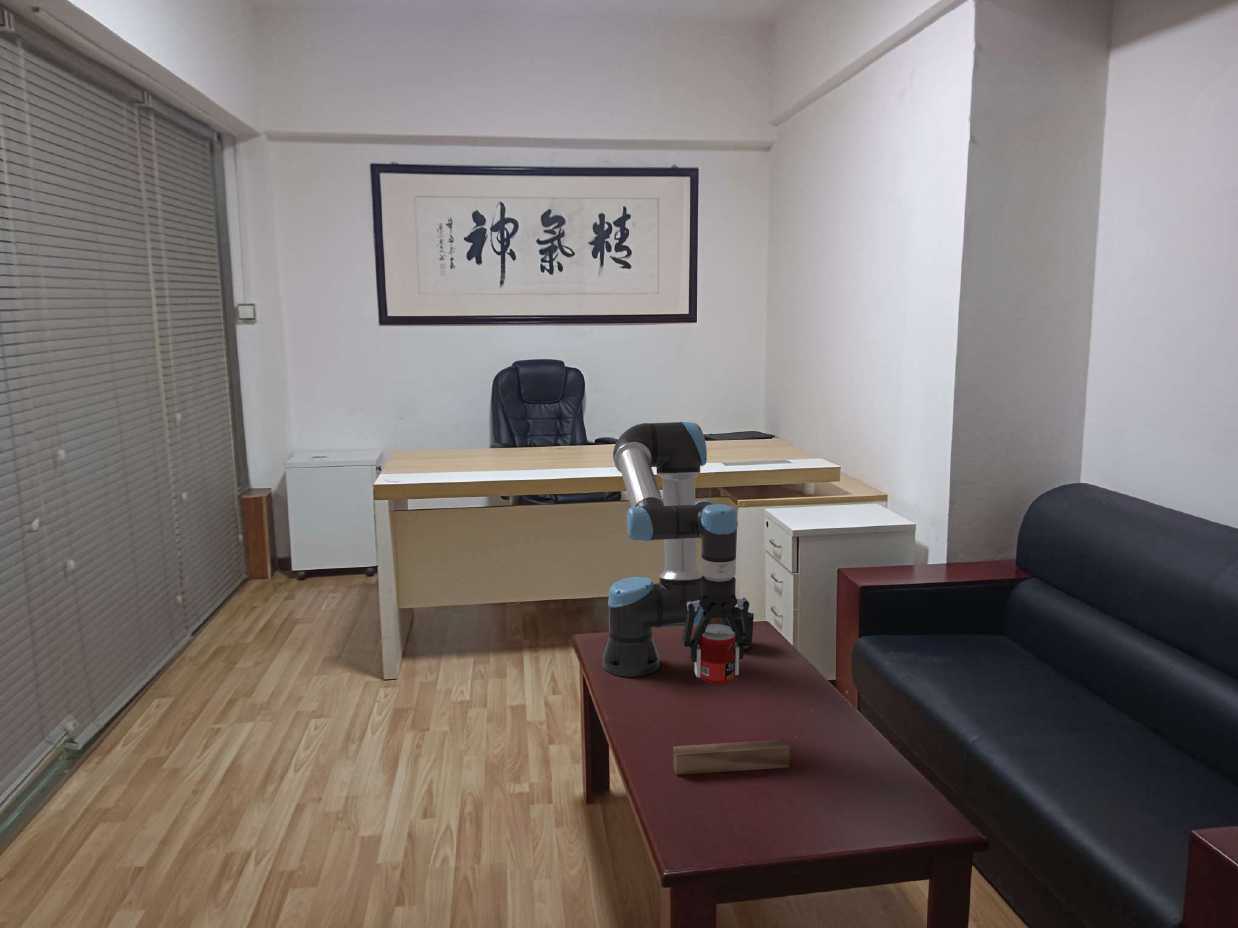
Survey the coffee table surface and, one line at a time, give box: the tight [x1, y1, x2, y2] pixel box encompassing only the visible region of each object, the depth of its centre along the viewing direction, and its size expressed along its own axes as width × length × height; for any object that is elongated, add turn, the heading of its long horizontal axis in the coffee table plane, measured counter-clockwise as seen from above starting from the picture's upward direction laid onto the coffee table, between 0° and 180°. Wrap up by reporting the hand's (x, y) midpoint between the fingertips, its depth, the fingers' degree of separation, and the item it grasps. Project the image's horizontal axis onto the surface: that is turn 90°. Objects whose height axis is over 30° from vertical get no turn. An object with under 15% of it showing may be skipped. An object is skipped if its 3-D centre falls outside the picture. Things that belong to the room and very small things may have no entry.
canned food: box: [699, 623, 735, 685], centre depth 198 cm, size 8×8×11 cm
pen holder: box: [719, 606, 755, 653], centre depth 250 cm, size 9×9×10 cm
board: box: [672, 738, 791, 776], centre depth 187 cm, size 4×24×4 cm, turn 97°
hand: (716, 673), depth 199 cm, fingers closed on canned food, 8 cm apart
